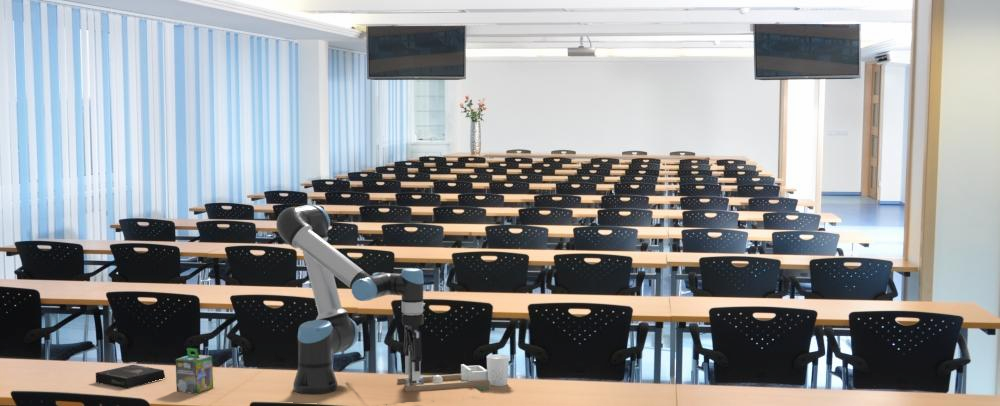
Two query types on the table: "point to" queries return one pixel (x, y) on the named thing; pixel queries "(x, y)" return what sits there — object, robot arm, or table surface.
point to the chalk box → (194, 372)
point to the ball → (437, 379)
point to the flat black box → (129, 376)
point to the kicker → (409, 381)
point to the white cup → (497, 369)
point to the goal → (473, 373)
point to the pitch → (476, 384)
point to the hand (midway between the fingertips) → (412, 377)
